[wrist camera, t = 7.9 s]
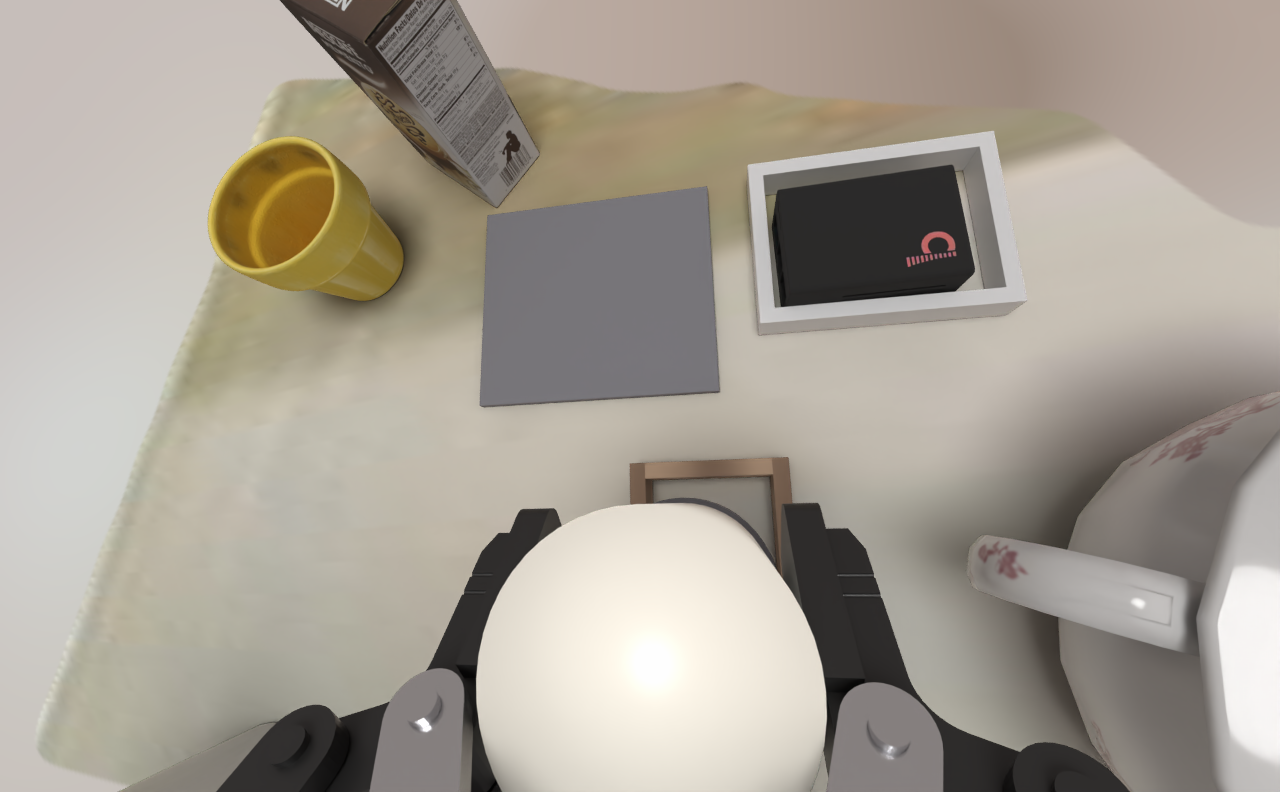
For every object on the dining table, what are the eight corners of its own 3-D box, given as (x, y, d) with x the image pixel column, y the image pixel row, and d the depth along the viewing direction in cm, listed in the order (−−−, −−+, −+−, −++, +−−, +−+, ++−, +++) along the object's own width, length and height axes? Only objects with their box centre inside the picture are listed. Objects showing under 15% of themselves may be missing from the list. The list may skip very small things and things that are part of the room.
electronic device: (771, 227, 38) (777, 187, 33) (924, 207, 36) (953, 161, 31) (782, 321, 36) (789, 293, 31) (942, 304, 34) (976, 272, 30)
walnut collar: (641, 617, 33) (633, 628, 31) (638, 466, 36) (629, 463, 33) (797, 619, 32) (803, 631, 29) (783, 461, 34) (788, 457, 31)
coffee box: (424, 163, 44) (258, -18, 29) (469, 107, 45) (329, -101, 29) (496, 212, 42) (358, 42, 26) (543, 152, 42) (434, -49, 27)
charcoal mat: (483, 407, 39) (479, 405, 38) (491, 219, 42) (487, 215, 41) (719, 392, 36) (719, 390, 35) (707, 191, 39) (706, 186, 38)
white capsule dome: (627, 646, 19) (457, 888, 7) (624, 500, 20) (474, 498, 8) (774, 650, 18) (861, 932, 6) (763, 496, 19) (817, 488, 7)
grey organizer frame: (758, 335, 36) (760, 323, 33) (746, 185, 38) (747, 164, 36) (1006, 315, 33) (1027, 300, 31) (976, 155, 36) (993, 130, 33)
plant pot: (405, 331, 41) (309, 281, 32) (303, 315, 43) (183, 263, 34) (439, 217, 43) (357, 138, 34) (338, 207, 45) (235, 129, 36)
